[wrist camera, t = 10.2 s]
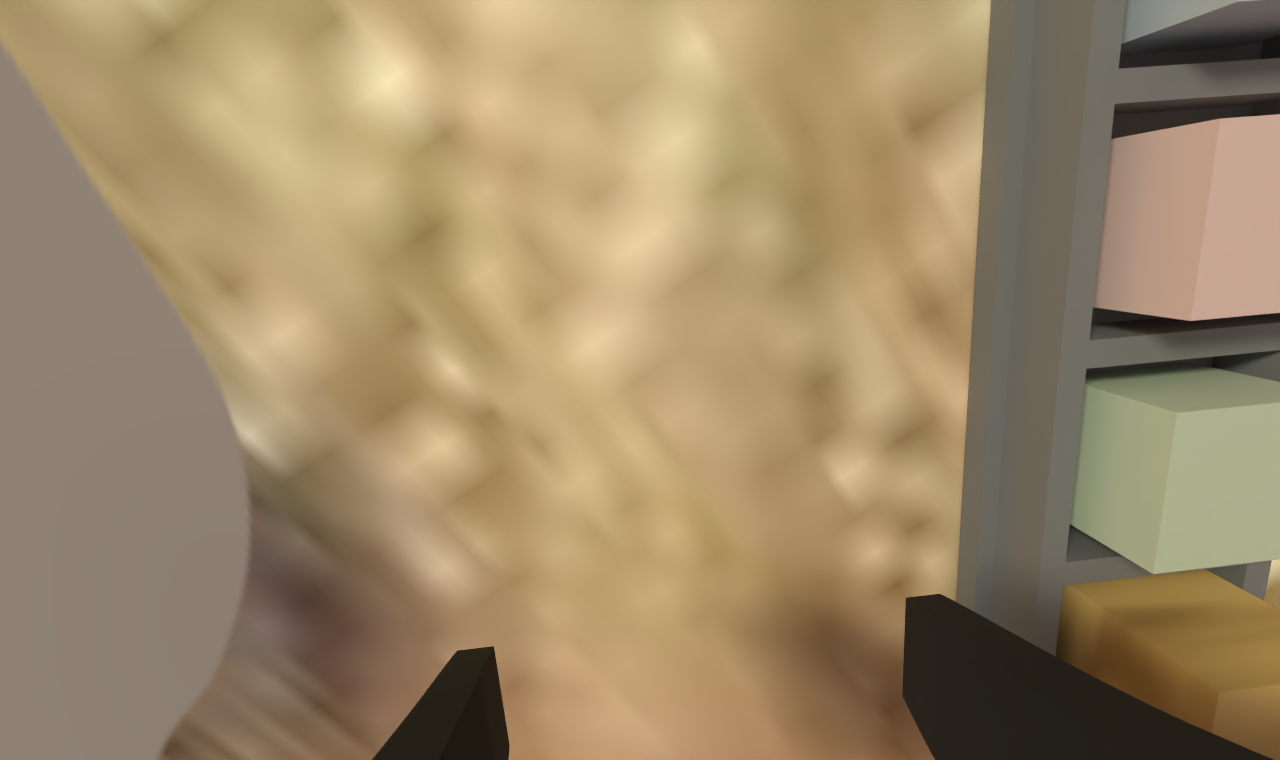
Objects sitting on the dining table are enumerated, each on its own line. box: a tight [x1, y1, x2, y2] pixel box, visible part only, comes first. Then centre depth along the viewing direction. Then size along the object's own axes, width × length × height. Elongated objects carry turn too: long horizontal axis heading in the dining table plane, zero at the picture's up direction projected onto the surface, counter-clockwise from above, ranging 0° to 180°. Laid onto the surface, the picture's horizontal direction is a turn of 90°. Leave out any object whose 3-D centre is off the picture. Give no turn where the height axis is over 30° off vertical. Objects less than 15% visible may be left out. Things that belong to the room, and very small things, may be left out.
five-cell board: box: [956, 0, 1280, 657], centre depth 16 cm, size 37×9×5 cm, turn 4°
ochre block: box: [1056, 569, 1280, 760], centre depth 18 cm, size 4×4×6 cm
